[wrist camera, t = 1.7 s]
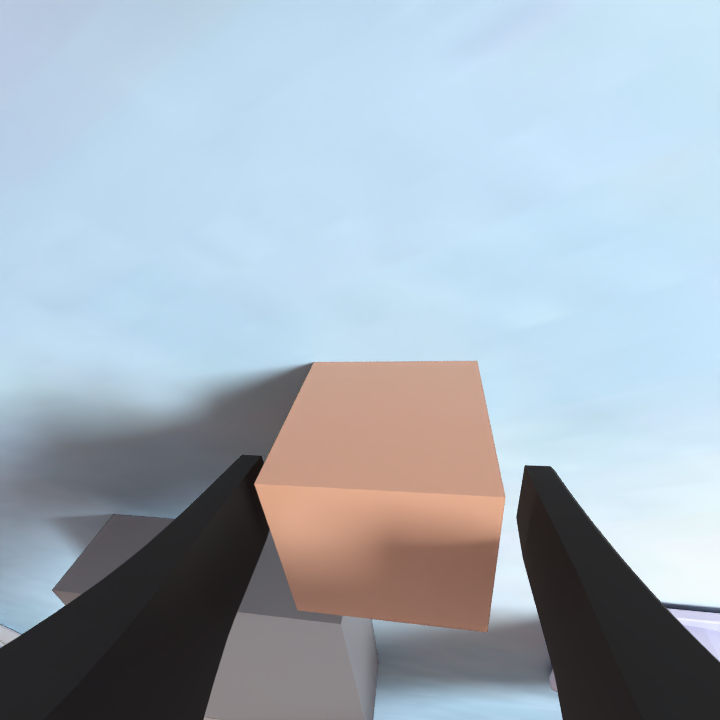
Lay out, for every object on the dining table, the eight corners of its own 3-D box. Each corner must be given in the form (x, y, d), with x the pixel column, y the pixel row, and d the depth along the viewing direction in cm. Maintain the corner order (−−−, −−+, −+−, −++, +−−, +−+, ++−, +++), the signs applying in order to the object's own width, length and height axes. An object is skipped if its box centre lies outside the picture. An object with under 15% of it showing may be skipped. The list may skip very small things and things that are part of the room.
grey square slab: (358, 523, 17) (341, 624, 13) (379, 654, 23) (370, 745, 19) (119, 507, 19) (51, 590, 16) (196, 630, 25) (159, 709, 22)
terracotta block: (477, 359, 11) (505, 497, 7) (469, 478, 14) (487, 632, 10) (314, 360, 12) (254, 483, 8) (335, 472, 15) (297, 610, 11)
